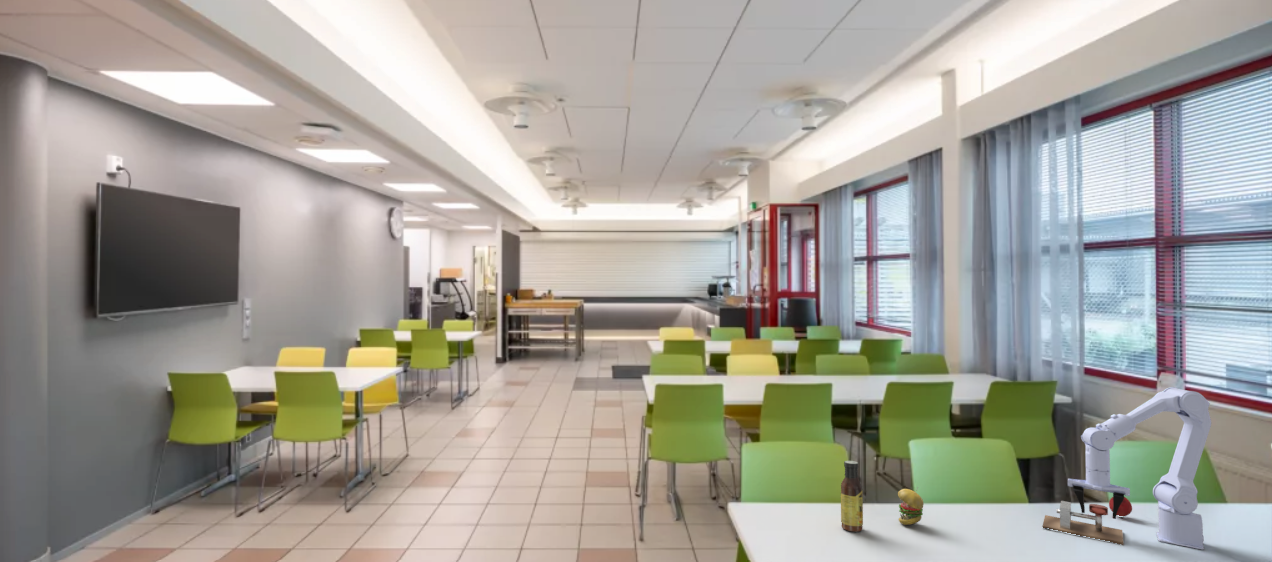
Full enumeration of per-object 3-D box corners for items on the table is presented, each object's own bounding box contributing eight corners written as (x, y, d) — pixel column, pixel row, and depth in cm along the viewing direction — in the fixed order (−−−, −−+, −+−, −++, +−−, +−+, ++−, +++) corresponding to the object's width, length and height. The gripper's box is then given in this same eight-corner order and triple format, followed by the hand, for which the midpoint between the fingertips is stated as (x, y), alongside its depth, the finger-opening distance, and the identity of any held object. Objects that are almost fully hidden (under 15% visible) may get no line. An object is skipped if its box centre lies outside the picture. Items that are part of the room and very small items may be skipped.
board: (1122, 532, 176) (1122, 529, 176) (1123, 545, 166) (1123, 542, 166) (1045, 517, 187) (1045, 515, 187) (1042, 528, 178) (1042, 526, 178)
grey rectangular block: (1070, 521, 182) (1070, 502, 182) (1070, 529, 175) (1069, 509, 176) (1061, 520, 183) (1061, 500, 183) (1060, 527, 177) (1059, 507, 177)
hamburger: (900, 518, 185) (900, 480, 186) (925, 523, 181) (925, 484, 181) (895, 526, 179) (895, 486, 179) (921, 531, 175) (921, 491, 175)
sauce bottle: (864, 533, 172) (864, 465, 173) (842, 531, 174) (842, 464, 174) (860, 525, 179) (860, 460, 180) (839, 523, 180) (839, 458, 181)
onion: (1132, 522, 184) (1132, 496, 184) (1109, 518, 188) (1109, 493, 188) (1131, 517, 189) (1131, 492, 189) (1108, 513, 192) (1108, 488, 193)
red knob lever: (1108, 529, 175) (1107, 506, 175) (1108, 534, 171) (1107, 510, 172) (1057, 519, 182) (1056, 497, 183) (1056, 524, 179) (1056, 500, 179)
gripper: (1067, 467, 176) (1067, 512, 176) (1129, 476, 167) (1130, 524, 167) (1068, 462, 182) (1068, 506, 181) (1128, 471, 173) (1129, 517, 172)
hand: (1098, 514), depth 175 cm, fingers open, 7 cm apart
